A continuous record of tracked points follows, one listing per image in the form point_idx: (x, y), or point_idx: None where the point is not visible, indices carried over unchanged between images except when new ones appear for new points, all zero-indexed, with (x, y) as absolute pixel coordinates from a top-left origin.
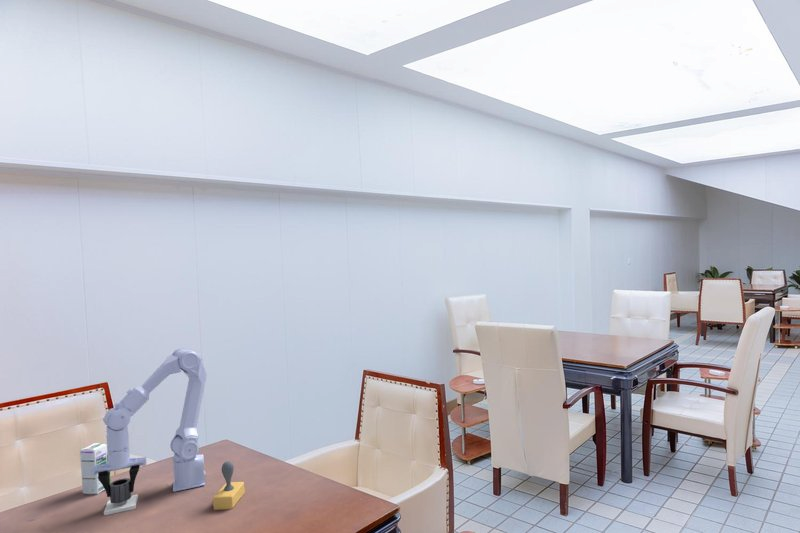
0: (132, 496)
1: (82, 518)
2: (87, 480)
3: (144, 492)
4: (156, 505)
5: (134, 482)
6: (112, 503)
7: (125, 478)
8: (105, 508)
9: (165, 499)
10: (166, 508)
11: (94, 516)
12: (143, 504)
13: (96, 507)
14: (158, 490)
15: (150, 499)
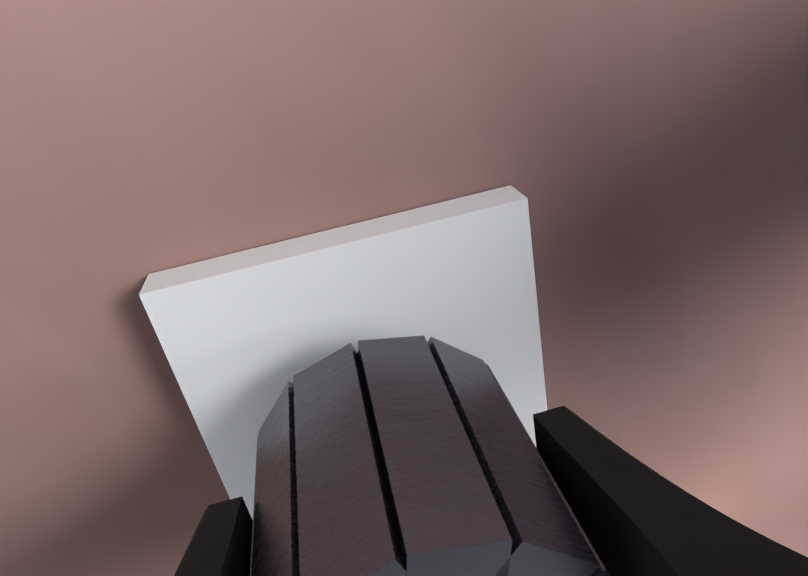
0: (471, 255)
1: (28, 559)
2: None
3: (570, 25)
4: (722, 421)
5: (636, 461)
6: (263, 399)
7: (517, 555)
8: (233, 498)
9: (805, 318)
10: (795, 482)
11: (154, 536)
12: (604, 379)
13: (24, 345)
14: (751, 22)
15: (664, 280)
